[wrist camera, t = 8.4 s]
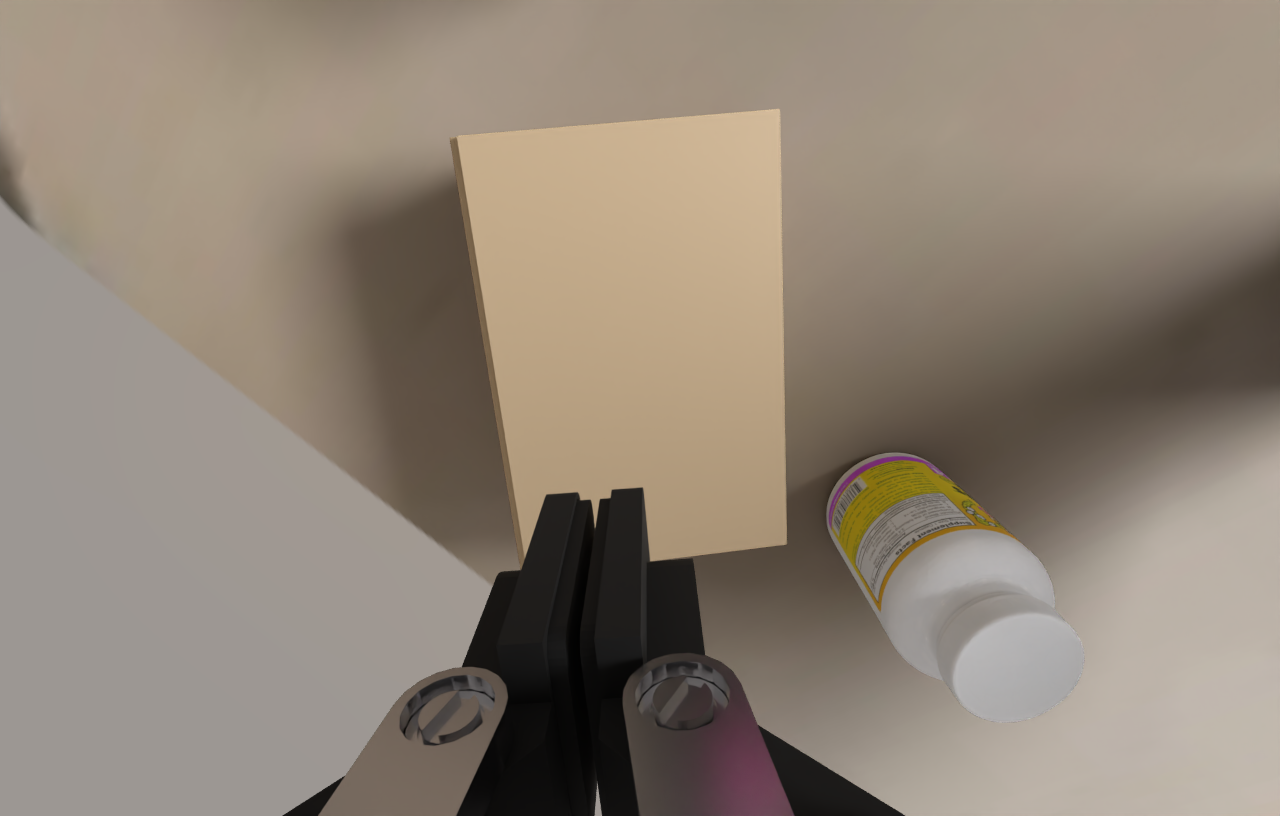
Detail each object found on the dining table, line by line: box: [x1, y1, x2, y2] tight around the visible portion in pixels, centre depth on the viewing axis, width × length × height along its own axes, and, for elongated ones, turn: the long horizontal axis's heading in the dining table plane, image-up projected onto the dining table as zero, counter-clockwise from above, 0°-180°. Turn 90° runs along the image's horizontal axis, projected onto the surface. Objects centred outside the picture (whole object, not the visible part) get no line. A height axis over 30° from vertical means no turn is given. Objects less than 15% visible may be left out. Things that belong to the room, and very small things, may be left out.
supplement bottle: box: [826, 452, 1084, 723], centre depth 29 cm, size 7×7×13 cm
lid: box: [450, 109, 787, 569], centre depth 25 cm, size 11×16×2 cm, turn 5°
